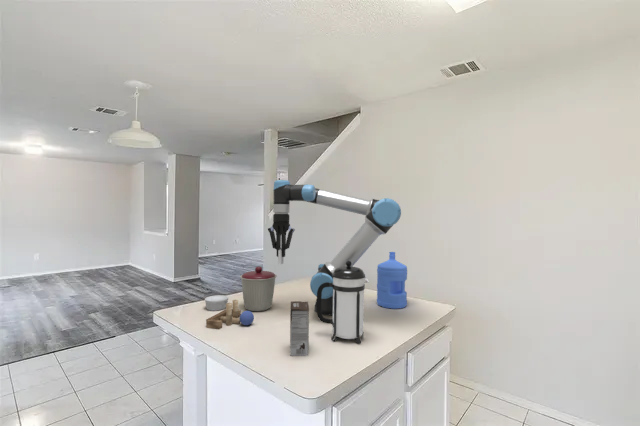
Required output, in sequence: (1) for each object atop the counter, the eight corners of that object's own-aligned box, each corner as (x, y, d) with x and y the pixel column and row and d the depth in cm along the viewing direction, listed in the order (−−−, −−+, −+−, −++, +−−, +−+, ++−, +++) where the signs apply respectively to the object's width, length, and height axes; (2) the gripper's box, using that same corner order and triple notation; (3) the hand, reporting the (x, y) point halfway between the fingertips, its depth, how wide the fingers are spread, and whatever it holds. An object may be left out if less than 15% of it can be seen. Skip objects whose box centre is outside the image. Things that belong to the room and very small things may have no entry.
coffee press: (352, 327, 134) (352, 256, 134) (374, 341, 120) (375, 262, 120) (315, 334, 126) (316, 259, 126) (335, 349, 112) (336, 265, 112)
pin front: (240, 317, 138) (222, 315, 140) (238, 319, 136) (219, 317, 138) (241, 322, 138) (223, 320, 141) (238, 325, 136) (220, 322, 139)
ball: (242, 318, 140) (253, 324, 138) (235, 323, 134) (246, 330, 132) (246, 306, 139) (258, 312, 137) (239, 310, 133) (251, 317, 132)
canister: (271, 301, 171) (272, 263, 171) (280, 312, 154) (280, 268, 154) (237, 305, 164) (238, 264, 164) (242, 315, 147) (242, 270, 147)
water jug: (371, 305, 167) (371, 252, 167) (385, 299, 179) (386, 249, 179) (398, 311, 157) (398, 255, 157) (411, 304, 169) (412, 252, 169)
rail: (240, 316, 147) (240, 309, 147) (219, 329, 130) (219, 322, 130) (227, 314, 148) (227, 308, 148) (204, 327, 132) (204, 320, 132)
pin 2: (238, 320, 141) (239, 300, 141) (236, 321, 139) (236, 301, 139) (234, 319, 142) (234, 299, 142) (231, 321, 140) (231, 301, 140)
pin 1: (232, 324, 137) (233, 303, 137) (229, 325, 134) (229, 304, 134) (227, 323, 137) (228, 302, 137) (224, 325, 135) (225, 304, 135)
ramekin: (200, 308, 158) (200, 297, 158) (220, 303, 167) (221, 293, 167) (211, 313, 151) (211, 302, 151) (232, 308, 159) (232, 297, 159)
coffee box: (290, 345, 116) (290, 301, 116) (307, 344, 116) (308, 300, 116) (289, 356, 107) (290, 308, 107) (308, 355, 107) (309, 308, 107)
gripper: (297, 213, 150) (296, 263, 150) (272, 213, 153) (271, 261, 153) (291, 213, 143) (290, 265, 143) (265, 213, 146) (264, 264, 146)
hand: (280, 263), depth 148 cm, fingers closed
